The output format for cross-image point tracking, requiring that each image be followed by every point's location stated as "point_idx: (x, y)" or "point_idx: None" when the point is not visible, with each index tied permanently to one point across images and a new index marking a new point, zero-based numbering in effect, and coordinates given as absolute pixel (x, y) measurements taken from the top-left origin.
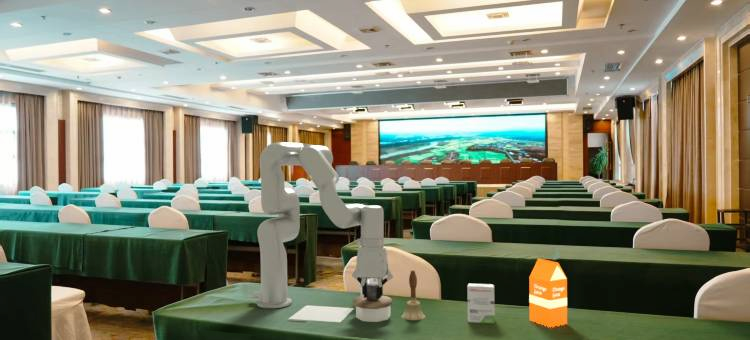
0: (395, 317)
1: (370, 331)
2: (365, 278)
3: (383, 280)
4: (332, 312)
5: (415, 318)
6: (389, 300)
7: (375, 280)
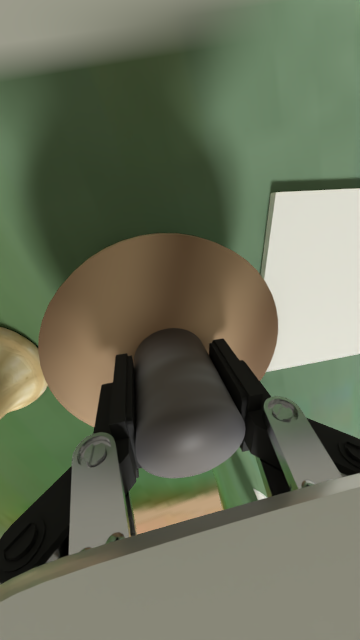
0: None
1: (84, 96)
2: (295, 483)
3: (47, 537)
4: (317, 310)
5: None
6: (66, 386)
7: None
